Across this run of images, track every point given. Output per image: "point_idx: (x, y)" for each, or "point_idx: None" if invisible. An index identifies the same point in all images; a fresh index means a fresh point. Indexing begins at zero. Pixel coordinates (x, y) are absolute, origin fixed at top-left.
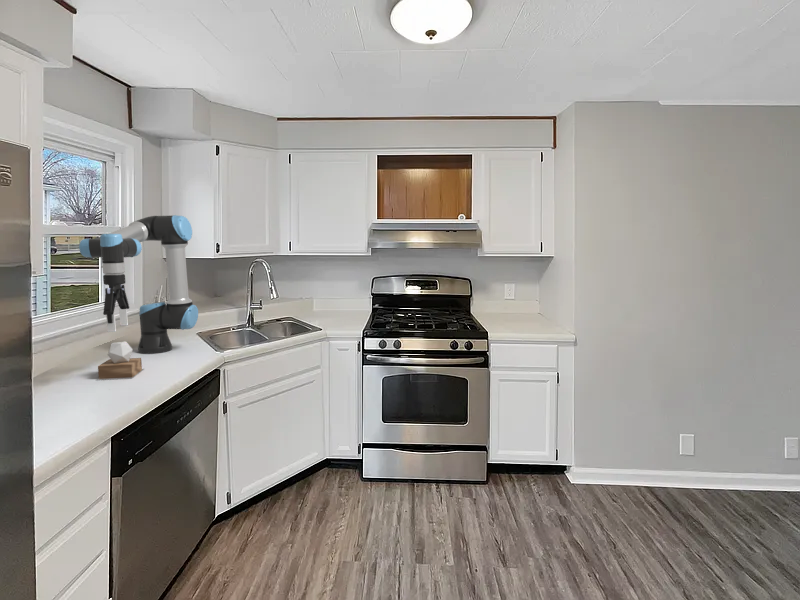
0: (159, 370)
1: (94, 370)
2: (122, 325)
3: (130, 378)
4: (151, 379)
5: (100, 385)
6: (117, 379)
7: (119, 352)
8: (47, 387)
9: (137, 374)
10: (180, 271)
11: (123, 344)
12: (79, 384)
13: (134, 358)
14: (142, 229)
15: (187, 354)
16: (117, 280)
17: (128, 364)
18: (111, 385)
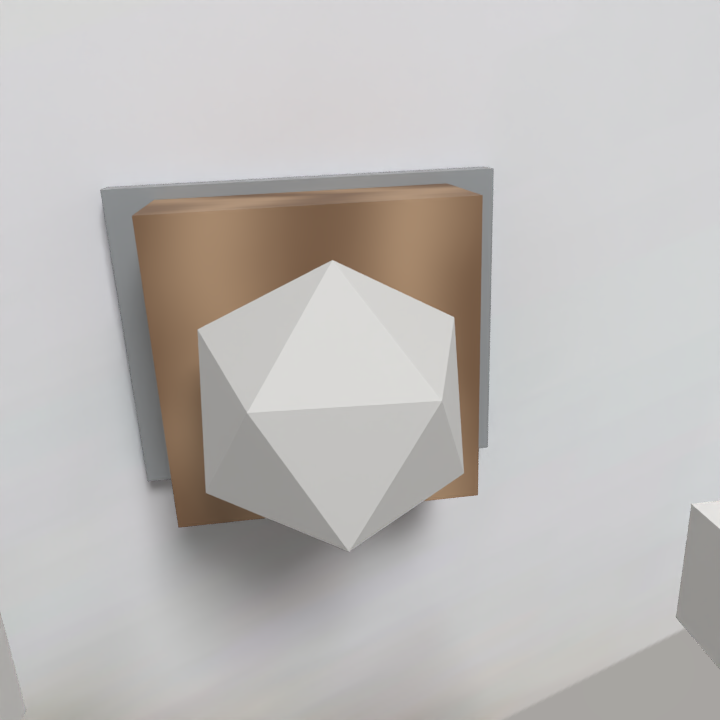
0: (53, 46)
1: (47, 633)
2: (14, 676)
3: (482, 185)
4: (428, 8)
5: (543, 377)
6: (490, 288)
7: (454, 369)
8: (515, 677)
9: (335, 177)
10: None
11: (403, 377)
12: (480, 532)
13: (160, 284)
14: None
15: None
16: None
17: (464, 232)
18: (562, 294)
